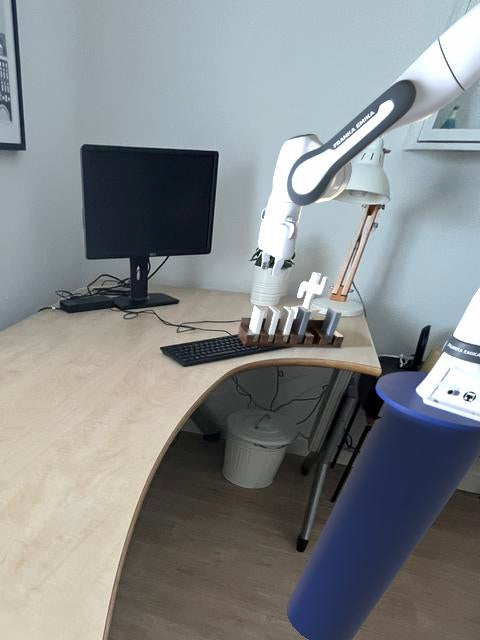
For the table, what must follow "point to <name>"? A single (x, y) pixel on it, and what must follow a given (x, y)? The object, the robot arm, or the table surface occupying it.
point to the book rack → (290, 336)
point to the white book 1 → (256, 321)
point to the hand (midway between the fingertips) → (269, 272)
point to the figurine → (311, 293)
